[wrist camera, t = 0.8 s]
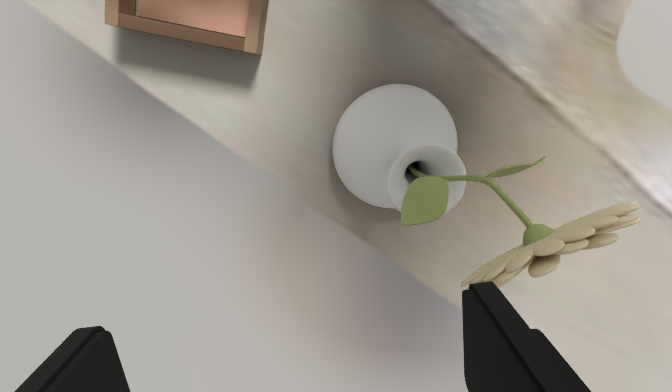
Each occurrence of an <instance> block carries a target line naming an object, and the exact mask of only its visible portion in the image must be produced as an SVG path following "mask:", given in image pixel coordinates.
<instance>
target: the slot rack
mask: <svg viewBox="0 0 672 392" xmlns="http://www.w3.org/2000/svg"><path fill="white" fill-rule="evenodd" d="M268 2H269V0H137V16H140V17H136V16H135V13H136V0H105V24H108V25H112V26H116V27H121V28H126V29H131V30H136V31H141V32H146V33H151V34H156V35H161V36H166V37H171V38H176V39H181V40H186V41H191V42H196V43H202V44H207V45H212V46H217V47H222V48H227V49H232V50H237V51H242V52H247V53H252V54H257V55H262V48H263V40H264V33H265V25H266V17H267V9H268ZM141 17H145V18H141ZM146 18H150V19H146ZM151 19H155V20H151ZM156 20H160V21H156ZM161 21H165V22H161ZM166 22H170V23H166ZM171 23H175V24H171ZM176 24H180V25H176ZM181 25H185V26H181ZM186 26H190V27H186ZM191 27H195V28H191ZM196 28H200V29H196ZM201 29H205V30H201ZM206 30H210V31H206ZM211 31H215V32H211ZM216 32H220V33H216ZM221 33H225V34H221ZM226 34H230V35H226ZM231 35H235V36H231ZM236 36H240V37H236ZM241 37H245V38H241Z"/></svg>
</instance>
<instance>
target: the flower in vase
mask: <svg viewBox="0 0 672 392" xmlns="http://www.w3.org/2000/svg"><path fill="white" fill-rule="evenodd" d="M457 146H458V140H457V132H456V128H455V124H454V121H453V119H452V117H451V115H450V113H449V111H448V110H447V108H446V107H445V106H444V105H443V103H442V102H441V101H440V100H439V99H438V98H436V97H435V96H434V95H432V94H431V93H429V92H427V91H426V90H424V89H421V88H419V87H416V86H412V85H407V84H389V85H384V86H380V87H377V88H374V89H372V90H370V91H368V92H366V93H364V94H363V95H361V96H360V97H358V98H357V99H356V100H355V101H354V102H352V103H351V105H350V106H349V107H348V108H347V109H346V110H345V112H344V113H343V115H342V116H341V118H340V120H339V122H338V124H337V127H336V130H335V133H334V138H333V147H332V150H333V160H334V165H335V168H336V171H337V173H338V175H339V177H340V179H341V181H342V182H343V184H344V185H345V186H346V187H347V189H348V190H349V191H350V192H351V193H352V194H354V195H355V196H356V197H358V198H359V199H361V200H362V201H364V202H366V203H368V204H371V205H374V206H377V207H382V208H396V209H397V210H398V211H399V212H400V213H401V224H404V225H417V224H423V223H428V222H431V221H434V220H436V219H438V218H440V217H441V216H444V215H445V214H447V213H448V212H450V211H451V210H452V209H453V208H454V207H455V206H456V205H457V204H458V203H459V201H460V200H461V198H462V196H463V194H464V191H465V187H466V181H477V182H482V183H485V184H486V185H488V186H489V187H491V188H492V189H493V190H494V191H495V192H496V193H497V194H498V195H499V196H500V197H501V199H502V200H503V201H504V202H505V203H506V204H507V205H508V206H509V207H510V208H511V210H512V211H513V212H514V213H515V214H516V215H517V216H518V218H519V219H520V220H521V221H522V222H523V223H524V225H525V226H526V227H527V229H526V230H525V232H524V235H523V244H522V245H520V246H518V247H516V248H514V249H512V250H510V251H508V252H506V253H504V254H502V255H500V256H499V257H497V258H495V259H493V260H492V261H490V262H488V263H487V264H485V265H484V266H482V267H481V268H479V269H478V270H477V271H475V272H474V273H473V274H471V275H470V276H469V277H468V278H467V279H465V280H464V281H463V282H462V284H461V287H463V286H466V285H468V284H469V283H471V284H472V283H480V282H489V281H492V282H493V283H494V284H495V285H496V286H497V287H498V289H500V288H501V287H502V286H504V285H505V284H506V283H507V282H509V281H510V280H511V279H513V278H514V277H515V276H516V275H518V274H519V273H520V272H521V271H523V270H524V269H525V268H526V267H528V266H529V268H528V272H529V275H530V276H531V277H535V278H536V277H541V276H543V275H546V274H548V273H550V272H552V271H554V270H555V269H556V268H557V266H558V264H559V262H560V255H563V254H570V253H574V252H577V251H579V250H586V249H593V248H598V247H603V246H606V245H609V244H611V243H613V242H615V241H617V240H618V239H619V238H620V236H619V235H618V234H614V233H607V232H610V231H614V230H618V229H621V228H624V227H628V226H630V225H633V224H635V223H637V222H639V221H640V219H639V218H637V216H636V215H627V214H629V213H631V212H633V211H635V210H637V209H639V208H640V207H641V206H642V205H640V204H639V203H637V202H635V201H633V202H626V203H621V204H618V205H614V206H611V207H608V208H605V209H602V210H599V211H597V212H594V213H592V214H589V215H587V216H584V217H582V218H579V219H577V220H574V221H572V222H569V223H567V224H564V225H562V226H560V227H558V228H556V229H552V228H550V227H548V226H546V225H542V224H533V223H532V222H531V221H530V219H529V218H528V217H527V216H526V215H525V214H524V213H523V211H522V210H521V209H520V208H519V207H518V206H517V205H516V204H515V203H514V202H513V200H512V199H511V198H510V197H509V196H508V195H507V194H506V193H505V192H504V191H503V190H502V189H501V188H500V187H499V186H498V185H497V184H496V183H495V182H493V181H492V180H490V179H489V178H495V177H501V176H506V175H510V174H514V173H517V172H520V171H523V170H525V169H527V168H529V167H531V166H533V165H536V164H538V163H540V162H541V161H543V159H544V158H545V156H544V157H543V158H541V159H540V160H538V161H536V162H534V163H530V164H518V165H512V166H507V167H504V168H500V169H498V170H495V171H493V172H491V173H489V174H487V175H486V176H484V177H483V176H476V175H466V171H465V167H464V165H463V162H462V161H461V159H460V158H459V156H458V155H457ZM603 233H607V234H603ZM467 290H469V287H468V289H467Z"/></svg>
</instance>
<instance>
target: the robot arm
mask: <svg viewBox="0 0 672 392" xmlns="http://www.w3.org/2000/svg"><path fill="white" fill-rule="evenodd" d="M462 307H463V340H464V374H465V381H466V385H467V388H468V391H469V392H591V391H590V390H589V388H588V387H587V386H586V385H585V384H584V382H583V381H582V380H581V379H580V378H579V376H578V375H577V374H576V373H575V371H574V370H573V369H572V368H571V367H570V365H569V364H568V363H567V362H566V361H565V359H564V358H563V357H562V356H561V355H560V353H559V352H558V351H557V350H556V348H555V347H554V346H553V345H552V344H551V342H550V341H549V340H548V339H547V338H546V336H545V335H544V334H543V333H542V332H541V331H540V330H538V329H530V328H529V326H528V325H527V324H526V323H525V321H524V320H523V319H522V318H521V316H520V315H519V314H518V313H517V311H516V310H515V309H514V308H513V306H512V305H511V304H510V302H509V301H508V300H507V299H506V297H505V296H504V295H503V294H502V292H501V291H500V290H499V289H498V287H497V286H496V285H495V284H494V283H493V282H492V281H489V282H480V283H472V284H470V285H469V290H463V292H462ZM15 392H130V390H129V387H128V383H127V381H126V377H125V374H124V371H123V368H122V365H121V362H120V359H119V356H118V353H117V349H116V347H115V343H114V340H113V337H112V335H111V333H110V332H109V331H105V329H104V328H103V327H101V326H95V327H87V328H79V329H76V330H75V331H73V332H72V333H71V335H69V337H67V338H66V340H65V341H64V342H63V343H62V344H61V345H60V346H59V347H58V348H57V349H56V350H55V351H54V352H53V353H52V354H51V355H50V356H49V357H48V358H47V359H46V360H45V361H44V362H43V363H42V364H41V365H40V366H39V367H38V368H37V369H36V370H35V371H34V372H33V373H32V374H31V375H30V376H29V377H28V378H27V379H26V380H25V381H24V383H23V384H22V385H21V386H20V387H19V388H18V389H17V390H16V391H15Z"/></svg>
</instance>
